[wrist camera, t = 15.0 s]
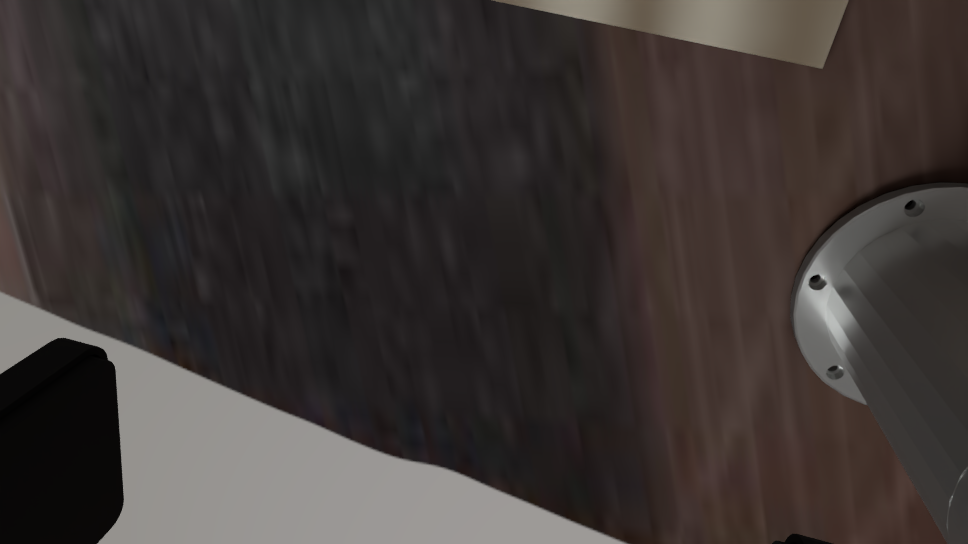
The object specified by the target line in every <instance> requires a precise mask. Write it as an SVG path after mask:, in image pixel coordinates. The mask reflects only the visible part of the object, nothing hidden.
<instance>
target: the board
mask: <svg viewBox="0 0 968 544" xmlns="http://www.w3.org/2000/svg"><path fill="white" fill-rule="evenodd" d="M493 1H498V2H503V3H507V4H512V5H517V6H522V7H527V8H532V9H536V10H541V11H546V12H551V13H556V14H561V15H565V16H570V17H575V18H580V19H585V20H590V21H594V22H599V23H604V24H609V25H614V26H619V27H623V28H628V29H633V30H638V31H643V32H648V33H652V34H657V35H662V36H667V37H672V38H677V39H681V40H686V41H691V42H696V43H701V44H706V45H710V46H715V47H720V48H725V49H730V50H735V51H739V52H744V53H749V54H754V55H759V56H764V57H768V58H773V59H778V60H783V61H788V62H792V63H797V64H802V65H807V66H812V67H817V68H821V69H823V66H824V63H825V61H826V58H827V56H828V53H829V50H830V48H831V45H832V43H833V40H834V37H835V35H836V32H837V30H838V27H839V24H840V22H841V19H842V16H843V14H844V11H845V9H846V6H847V3H848V1H849V0H493Z"/></svg>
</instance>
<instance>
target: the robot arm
mask: <svg viewBox="0 0 968 544" xmlns="http://www.w3.org/2000/svg"><path fill="white" fill-rule="evenodd" d="M911 200H913V201H912V204H911V205H910V206H908V207H905V205H906V204H907V203H908V202H909V201H911ZM814 275H818V276H817V278H815V279H810V278H811V277H812V276H814ZM790 318H791V323H792V328H793V332H794V337H795V339H796V341H797V343H798V346H799V348H800V350H801V353H802V354H803V356H804V357H805V359H806V361H807V362H808V364H809V365H810V367H811V369H812V370H813V371H814V372H815V373H816V374H817V375H818V376H819V377H820V379H821V380H822V381H823V382H825V383H826V384H827V385H829V386H830V387H832V388H833V389H835V390H836V391H838V392H839V393H840V394H842V395H843V396H846V397H848V398H850V399H853V400H855V401H857V402H860V403H862V404H864V405H868V406H869V408H870V410H871V412H872V413H873V415H874V417H875V419H876V420H877V422H878V424H879V426H880V427H881V429H882V431H883V432H884V434H885V436H886V438H887V439H888V441H889V443H890V445H891V446H892V448H893V450H894V452H895V453H896V455H897V457H898V458H899V460H900V462H901V464H902V465H903V467H904V469H905V471H906V472H907V474H908V476H909V478H910V479H911V481H912V483H913V484H914V486H915V488H916V490H917V491H918V493H919V495H920V497H921V498H922V500H923V502H924V504H925V505H926V507H927V509H928V510H929V512H930V514H931V516H932V517H933V519H934V521H935V523H936V524H937V526H938V528H939V530H940V531H941V533H942V535H943V536H944V538H945V540H946V542H947V543H948V544H968V183H943V182H939V183H931V184H923V185H915V186H910V187H906V188H903V189H900V190H896V191H893V192H889V193H886V194H883V195H881V196H879V197H877V198H875V199H873V200H870V201H868V202H866V203H864V204H862V205H860V206H858V207H857V208H855V209H854V210H852V211H851V212H849V213H848V214H847V215H845V216H844V217H842V218H841V219H839V220H838V221H837V222H836V223H835V224H834V225H832V226H831V227H830V228H829V229H828V230H827V231H826V232H825V233H824V234H823V235H822V236H821V237H820V238H819V239H818V241H817V242H816V243H815V245H814V246H813V247H812V249H811V250H810V251H809V253H808V254H807V255H806V257H805V259H804V261H803V263H802V265H801V267H800V269H799V271H798V273H797V275H796V278H795V282H794V286H793V290H792V294H791V307H790ZM832 366H833V367H832ZM116 388H117V387H116V372H115V366H114V364H113V363H112V362H111V361H108V358H107V354H106V352H105V351H104V350H103V349H101V348H100V347H97V346H93V345H89V344H85V343H81V342H78V341H74V340H70V339H66V338H57V339H55V340H53V341H51V342H49V343H48V344H46V345H45V346H43V347H42V348H40V349H38V350H37V351H35V352H34V353H32V354H31V355H29V356H28V357H26V358H25V359H23V360H22V361H20V362H18V363H17V364H15V365H14V366H12V367H11V368H9V369H8V370H6V371H5V372H3V373H2V374H0V544H97V543H98V542H99V540H100V539H102V538H103V537H104V535H105V534H106V533H107V532H108V531H109V530H110V529H111V528H112V526H113V525H114V524H115V523H116V521H117V519H118V517H119V516H120V513H121V511H122V507H123V502H124V496H123V481H122V466H121V450H120V434H119V418H118V403H117V389H116ZM772 544H832V543H829V542H825V541H821V540H817V539H814V538H810V537H806V536H803V535H799V534H791V535H790V536H789V537H788V538H787V539H786V541H785V542H781V541H774V542H773V543H772Z"/></svg>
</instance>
